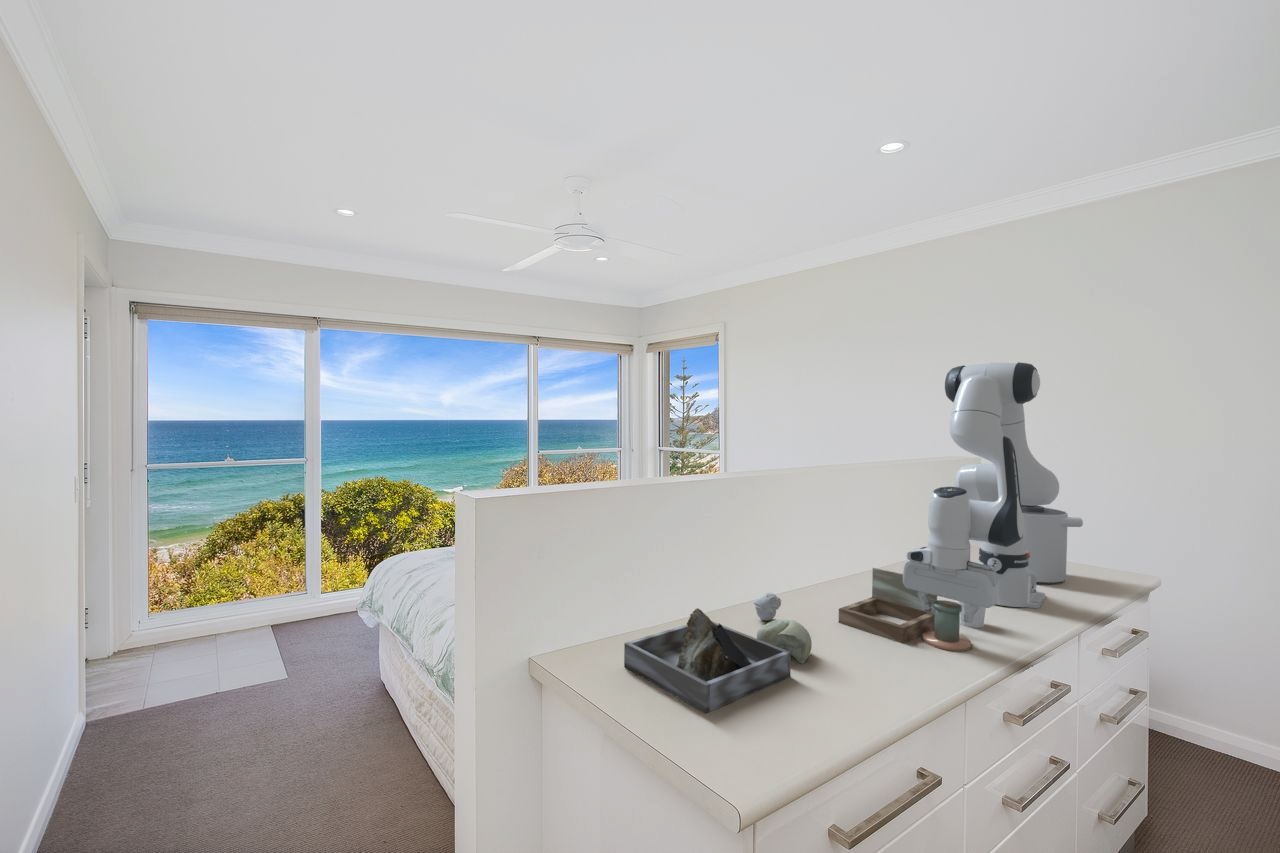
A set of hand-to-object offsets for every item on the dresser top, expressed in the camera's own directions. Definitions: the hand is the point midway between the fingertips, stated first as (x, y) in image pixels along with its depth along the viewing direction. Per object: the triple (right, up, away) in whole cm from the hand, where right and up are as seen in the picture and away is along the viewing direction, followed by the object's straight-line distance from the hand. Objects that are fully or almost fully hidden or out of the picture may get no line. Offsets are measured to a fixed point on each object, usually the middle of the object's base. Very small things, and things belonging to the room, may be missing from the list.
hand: (947, 616), depth 138 cm
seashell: (-39, -6, -7) cm, 41 cm away
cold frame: (-9, -6, +11) cm, 16 cm away
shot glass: (+13, -6, +13) cm, 19 cm away
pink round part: (0, -6, 0) cm, 6 cm away
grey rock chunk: (-39, -6, +14) cm, 42 cm away
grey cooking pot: (+58, -6, +57) cm, 81 cm away
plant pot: (0, -5, 0) cm, 5 cm away
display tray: (-58, -6, -17) cm, 61 cm away
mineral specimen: (-56, -6, -19) cm, 60 cm away
